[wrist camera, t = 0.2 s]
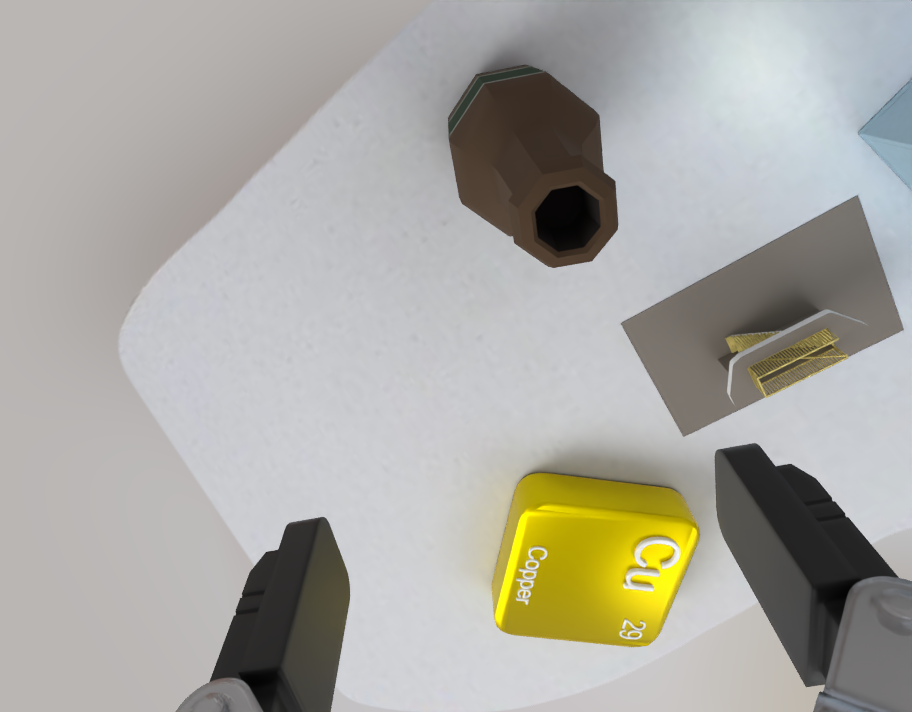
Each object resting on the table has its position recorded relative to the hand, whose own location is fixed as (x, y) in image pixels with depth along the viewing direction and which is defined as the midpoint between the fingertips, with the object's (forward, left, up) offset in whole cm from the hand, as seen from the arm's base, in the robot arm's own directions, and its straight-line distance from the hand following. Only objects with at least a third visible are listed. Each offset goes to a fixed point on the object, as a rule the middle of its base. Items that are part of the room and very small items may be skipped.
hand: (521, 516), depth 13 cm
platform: (+24, +5, -34) cm, 42 cm away
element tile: (+28, -19, -34) cm, 48 cm away
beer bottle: (0, +4, -34) cm, 34 cm away
